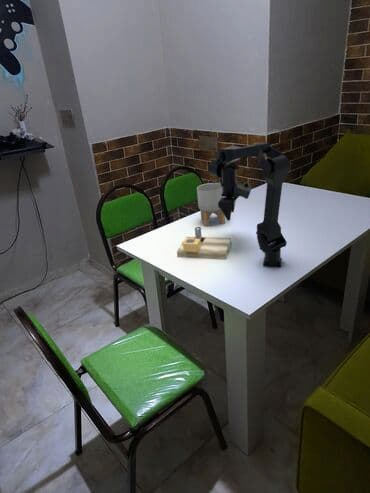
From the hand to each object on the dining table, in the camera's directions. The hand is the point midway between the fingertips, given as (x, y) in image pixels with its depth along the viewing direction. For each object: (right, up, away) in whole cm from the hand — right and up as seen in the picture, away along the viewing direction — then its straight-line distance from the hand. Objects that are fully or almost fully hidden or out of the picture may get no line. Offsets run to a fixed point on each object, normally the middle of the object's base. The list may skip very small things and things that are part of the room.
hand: (230, 216), depth 143 cm
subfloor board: (-11, -14, +2) cm, 18 cm away
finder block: (-16, -14, -2) cm, 21 cm away
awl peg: (-13, -12, +6) cm, 18 cm away
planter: (-5, 0, +28) cm, 28 cm away
